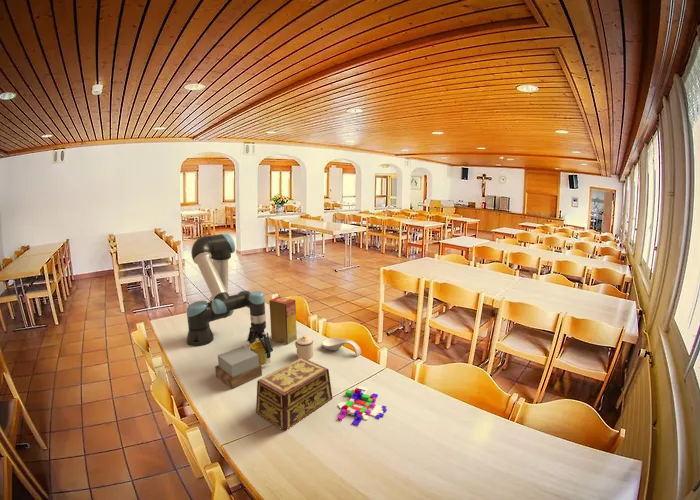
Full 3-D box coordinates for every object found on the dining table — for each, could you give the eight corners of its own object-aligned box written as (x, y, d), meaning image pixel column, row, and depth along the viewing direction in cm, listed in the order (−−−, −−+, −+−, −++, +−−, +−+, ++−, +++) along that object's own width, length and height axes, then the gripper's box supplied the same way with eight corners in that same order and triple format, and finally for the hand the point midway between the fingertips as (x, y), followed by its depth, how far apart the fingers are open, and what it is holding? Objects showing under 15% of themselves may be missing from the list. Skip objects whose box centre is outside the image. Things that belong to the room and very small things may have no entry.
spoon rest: (318, 349, 210) (317, 337, 208) (330, 341, 220) (329, 330, 218) (353, 360, 198) (353, 347, 196) (364, 351, 207) (364, 339, 206)
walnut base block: (216, 377, 183) (215, 366, 182) (244, 365, 194) (244, 354, 193) (232, 390, 172) (231, 378, 171) (262, 376, 183) (261, 365, 182)
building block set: (374, 432, 143) (374, 422, 142) (327, 418, 152) (327, 408, 151) (395, 397, 165) (395, 388, 164) (353, 386, 174) (353, 377, 173)
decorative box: (284, 432, 143) (282, 397, 140) (255, 413, 155) (253, 380, 152) (332, 399, 164) (332, 368, 161) (303, 384, 176) (302, 355, 173)
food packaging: (297, 338, 223) (296, 299, 218) (287, 344, 216) (285, 304, 210) (281, 333, 230) (279, 295, 225) (270, 339, 223) (268, 300, 217)
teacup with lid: (317, 355, 203) (316, 335, 200) (304, 361, 196) (303, 341, 194) (302, 348, 210) (301, 329, 208) (289, 354, 204) (288, 335, 201)
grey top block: (218, 366, 181) (217, 355, 180) (244, 356, 191) (243, 345, 190) (232, 377, 172) (231, 365, 170) (258, 366, 181) (258, 354, 180)
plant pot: (274, 358, 200) (273, 342, 198) (264, 368, 190) (262, 350, 188) (257, 356, 203) (256, 339, 201) (246, 365, 193) (245, 347, 191)
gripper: (239, 317, 197) (241, 353, 202) (265, 330, 181) (268, 369, 185) (251, 313, 203) (253, 349, 207) (278, 325, 186) (280, 364, 190)
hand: (260, 358), depth 196 cm, fingers open, 13 cm apart
